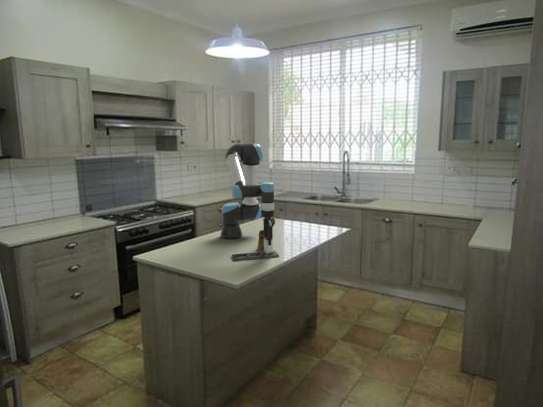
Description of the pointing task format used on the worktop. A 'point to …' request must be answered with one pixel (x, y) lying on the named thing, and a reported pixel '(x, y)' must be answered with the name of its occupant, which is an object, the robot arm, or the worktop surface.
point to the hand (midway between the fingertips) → (268, 249)
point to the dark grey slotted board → (249, 256)
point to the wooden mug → (261, 237)
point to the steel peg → (266, 247)
